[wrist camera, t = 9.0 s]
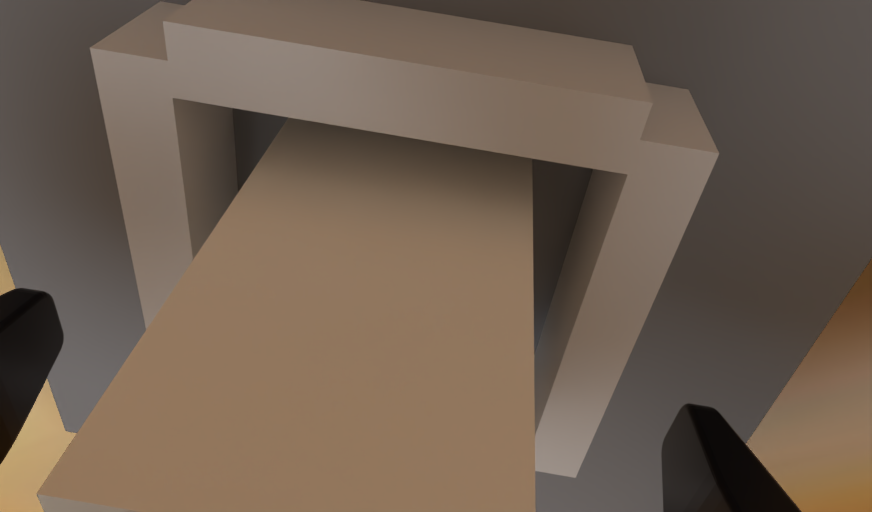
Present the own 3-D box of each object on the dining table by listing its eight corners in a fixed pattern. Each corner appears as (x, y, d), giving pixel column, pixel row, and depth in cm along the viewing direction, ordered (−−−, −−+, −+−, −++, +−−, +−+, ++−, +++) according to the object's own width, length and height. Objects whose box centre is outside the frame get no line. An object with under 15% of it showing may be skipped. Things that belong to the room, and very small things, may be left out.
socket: (1144, -246, 8) (1416, -248, 5) (674, 503, 18) (697, 620, 15) (-175, -455, 8) (-476, -548, 6) (86, 401, 18) (17, 500, 15)
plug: (532, 153, 11) (536, 695, 4) (491, 329, 13) (457, 837, 7) (290, 115, 11) (-33, 595, 5) (294, 297, 13) (88, 771, 7)
